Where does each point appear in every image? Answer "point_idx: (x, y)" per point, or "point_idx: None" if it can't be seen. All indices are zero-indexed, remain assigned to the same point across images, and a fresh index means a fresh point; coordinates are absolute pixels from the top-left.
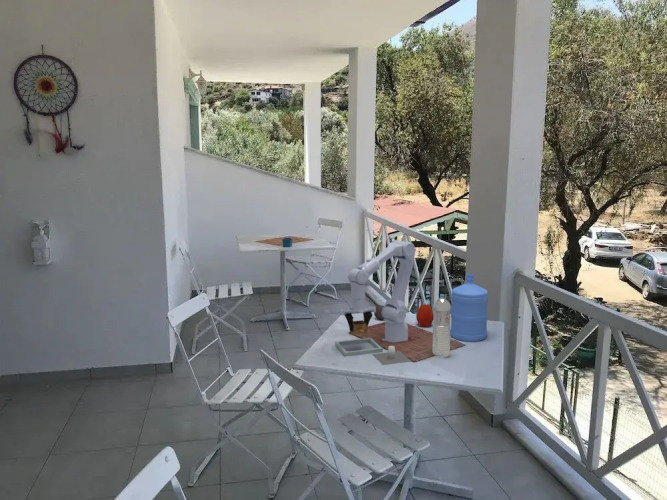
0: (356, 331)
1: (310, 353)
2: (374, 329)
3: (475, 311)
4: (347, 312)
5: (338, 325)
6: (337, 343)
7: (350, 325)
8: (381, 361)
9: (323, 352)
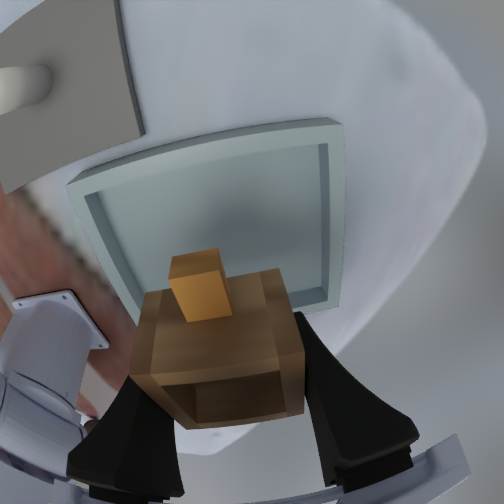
0: (257, 296)
1: (440, 227)
2: None
3: None
4: (391, 487)
5: None
6: (337, 285)
7: (332, 356)
8: (101, 13)
9: (397, 231)
